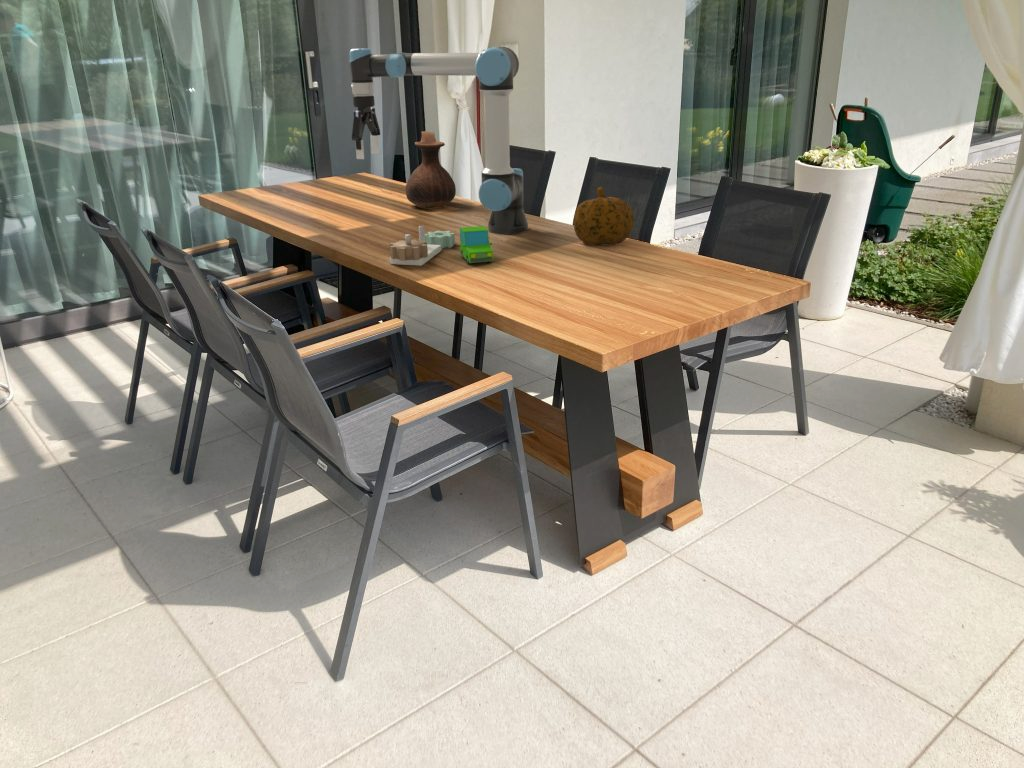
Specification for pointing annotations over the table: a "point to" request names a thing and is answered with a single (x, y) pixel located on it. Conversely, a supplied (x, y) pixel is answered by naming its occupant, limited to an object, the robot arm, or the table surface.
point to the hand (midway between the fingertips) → (368, 156)
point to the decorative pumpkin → (603, 220)
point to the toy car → (475, 245)
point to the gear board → (422, 260)
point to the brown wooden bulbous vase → (430, 177)
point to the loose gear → (440, 238)
